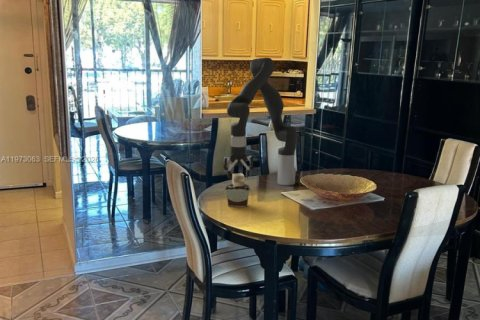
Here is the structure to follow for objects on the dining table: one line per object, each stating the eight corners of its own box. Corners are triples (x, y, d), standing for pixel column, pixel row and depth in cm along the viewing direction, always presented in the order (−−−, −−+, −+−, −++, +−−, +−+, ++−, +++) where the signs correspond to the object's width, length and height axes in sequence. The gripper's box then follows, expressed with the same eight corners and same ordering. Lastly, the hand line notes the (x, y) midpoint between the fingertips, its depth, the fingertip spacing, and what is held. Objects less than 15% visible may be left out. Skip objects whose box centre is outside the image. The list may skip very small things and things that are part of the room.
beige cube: (242, 183, 218) (242, 173, 217) (244, 186, 214) (244, 176, 212) (232, 183, 217) (232, 173, 216) (234, 186, 213) (234, 176, 211)
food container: (251, 202, 220) (251, 183, 218) (250, 206, 214) (250, 187, 212) (226, 201, 221) (226, 182, 219) (224, 205, 215) (224, 186, 213)
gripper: (251, 142, 216) (251, 174, 220) (222, 143, 213) (222, 176, 217) (254, 145, 209) (254, 179, 212) (224, 147, 206) (224, 180, 210)
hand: (238, 177), depth 215 cm, fingers open, 8 cm apart
